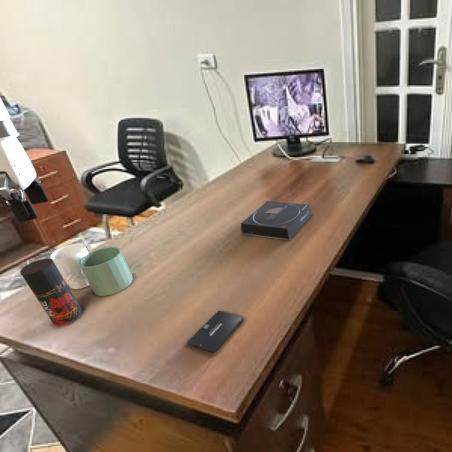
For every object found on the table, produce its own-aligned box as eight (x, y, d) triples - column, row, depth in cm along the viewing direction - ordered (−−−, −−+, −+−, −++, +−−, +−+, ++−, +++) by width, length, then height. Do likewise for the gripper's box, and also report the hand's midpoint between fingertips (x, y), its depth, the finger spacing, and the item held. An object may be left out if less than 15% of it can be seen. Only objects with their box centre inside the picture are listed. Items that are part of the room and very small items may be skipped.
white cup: (76, 294, 91) (58, 263, 86) (62, 286, 95) (44, 255, 90) (106, 277, 97) (90, 247, 92) (91, 270, 101) (76, 240, 96)
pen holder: (91, 300, 88) (75, 271, 84) (96, 280, 96) (82, 253, 92) (131, 288, 91) (118, 260, 87) (134, 269, 99) (122, 243, 95)
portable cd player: (267, 210, 125) (265, 200, 123) (311, 215, 119) (309, 204, 117) (241, 234, 112) (239, 223, 110) (289, 240, 106) (287, 228, 104)
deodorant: (48, 328, 81) (13, 276, 73) (61, 310, 86) (30, 260, 79) (75, 323, 81) (43, 271, 74) (86, 306, 86) (58, 256, 79)
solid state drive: (187, 344, 72) (186, 342, 72) (219, 312, 80) (218, 310, 80) (213, 354, 70) (212, 351, 69) (243, 319, 77) (243, 317, 77)
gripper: (-16, 126, 73) (25, 200, 81) (-55, 145, 59) (-1, 232, 67) (27, 121, 76) (63, 193, 84) (-1, 137, 62) (45, 222, 70)
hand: (35, 210), depth 76 cm, fingers open, 9 cm apart
